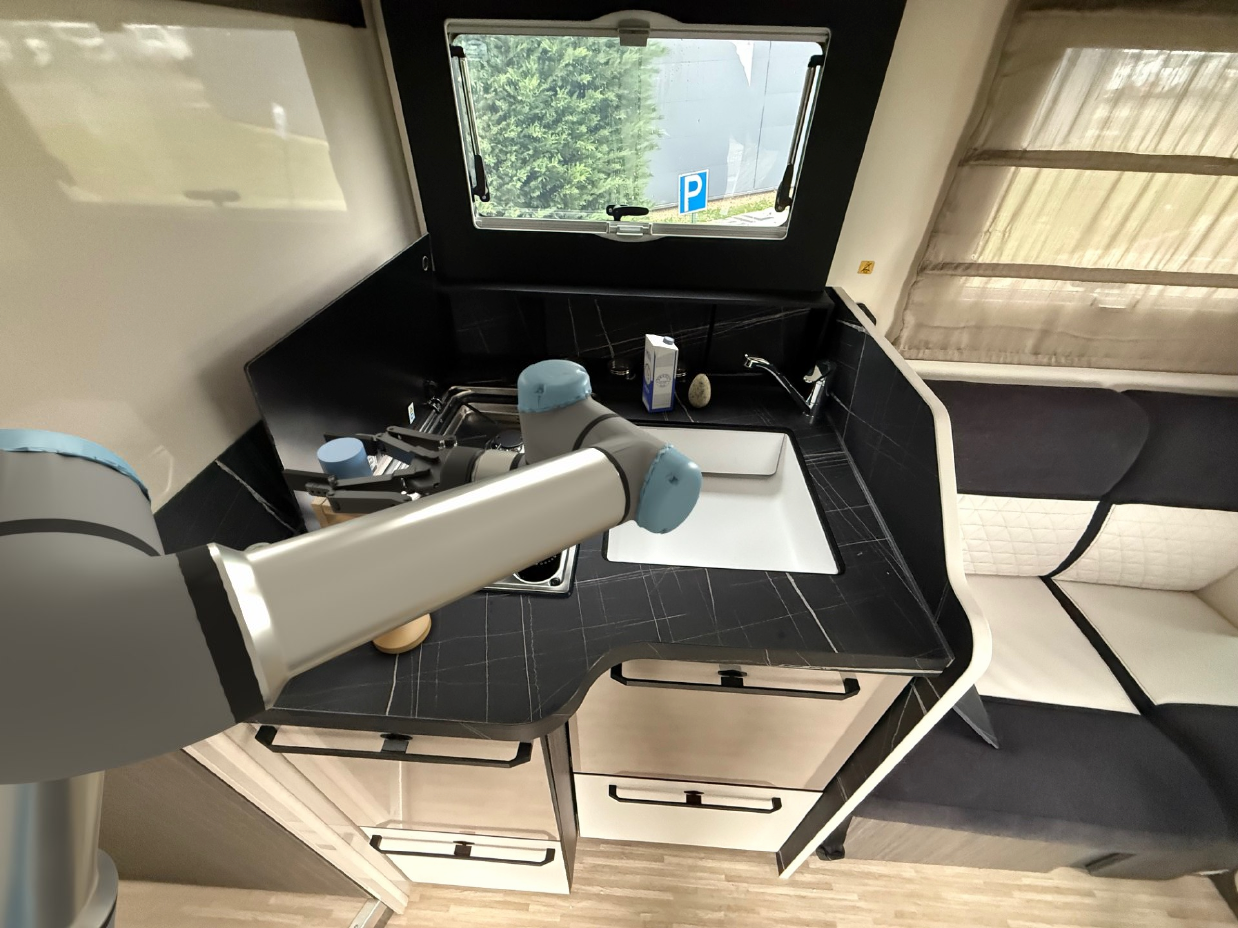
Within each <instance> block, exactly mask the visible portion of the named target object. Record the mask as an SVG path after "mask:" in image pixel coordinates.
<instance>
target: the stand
mask: <svg viewBox="0 0 1238 928" xmlns="http://www.w3.org/2000/svg"><path fill="white" fill-rule="evenodd" d="M310 506H311V508H312V510H313V512H314V515H315V517H316V520H317V521H318V523H319V525H320V529H322V528H326V527H329V526H332V525H335V524H339V523H342V522H345V521H348V520H352V519H355V518H358V517H361V516H365V515H368V514H349V513H334V512H333V511H332V508H331V506H330V504H329V501H328V499H327V498H325V497H317V496H316V497H315V498H314V500H313V501H312V502H311V503H310ZM431 627H432V619H431V615H430V613H429V614H427V615H425V616H423V617H420V618H418V619H416V620H414V621H412V622H410V623H408V624H405V625H403V626H401V627H399V628H397V629H395V630H393V631H390V632H388V633H386V634H384V635H382V636H380V637H378V638H375V639H373V640H371V641H372V642H373V645H374V646H375V648H376V649H378V650H379V651H381V652H382V653H385V654H390V655H391V654H392V655H396V654H401V653H405V652H408V651H411V650H413V649H414V648H416V647H417V646H418V645H420V644H421V643H422V642H423V641H424V640H425V639H426V637H427V636H428V634H429V633H430V630H431Z"/></svg>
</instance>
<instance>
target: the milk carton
mask: <svg viewBox="0 0 1238 928" xmlns="http://www.w3.org/2000/svg"><path fill="white" fill-rule="evenodd" d="M674 342H675V339H674V338H672V337H670V336H665V335H664V336H659V335H655V334H645V345H644V363H643V364H644V365H643V380H642V381H643V383H642V398H641V400H642V402H643V404H644V406H645V408H646V409H647V411H648V413H649V414H650V413H657V412H668V411H672V410H673V406H674V397H675V388H676V387H675V386H676V375H677V366H678V357H679V349H678V347H677V346H676V345H675V343H674Z"/></svg>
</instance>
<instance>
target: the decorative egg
mask: <svg viewBox="0 0 1238 928" xmlns="http://www.w3.org/2000/svg"><path fill="white" fill-rule="evenodd" d="M711 390H712V389H711V383H710V380H709V379H708V377H707V376H706V374H704V373H699V374H697V375H696V376H695V378H694V379H693V380H692V382H691V384H690V386H689V390H688V400H689V401H688V402H689V403H690V405H692V407H694V408H698V409H700V408H704V407H705V406H706V405H707V404H708V403H709V401H710V399H711V394H712V393H711Z"/></svg>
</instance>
